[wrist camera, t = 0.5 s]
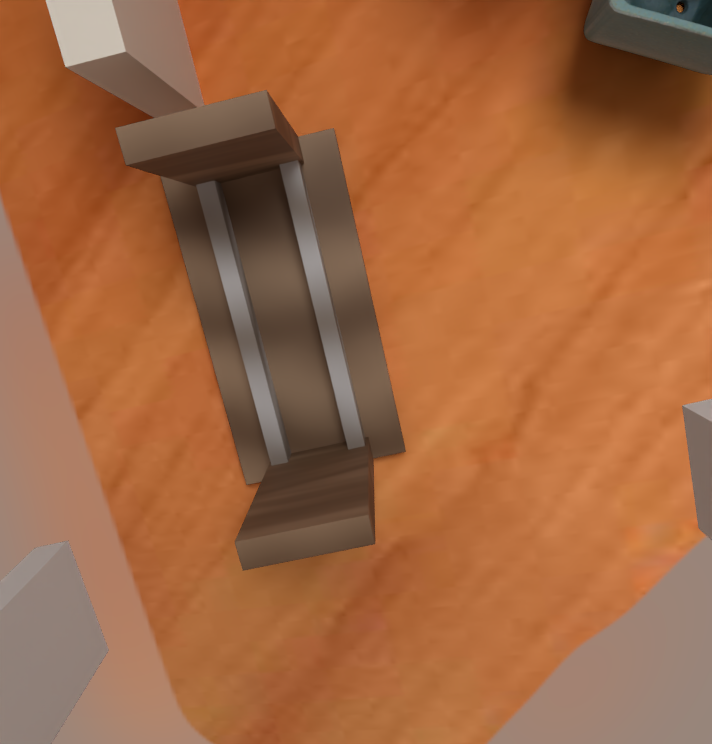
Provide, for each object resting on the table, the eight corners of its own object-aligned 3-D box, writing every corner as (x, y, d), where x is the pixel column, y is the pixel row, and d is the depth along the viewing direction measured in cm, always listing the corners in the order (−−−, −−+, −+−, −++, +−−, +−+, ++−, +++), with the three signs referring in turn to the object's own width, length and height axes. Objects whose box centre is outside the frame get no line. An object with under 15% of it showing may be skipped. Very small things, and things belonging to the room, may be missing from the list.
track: (164, 172, 36) (65, 140, 24) (334, 131, 35) (317, 77, 24) (249, 478, 40) (199, 579, 28) (404, 446, 39) (420, 534, 27)
